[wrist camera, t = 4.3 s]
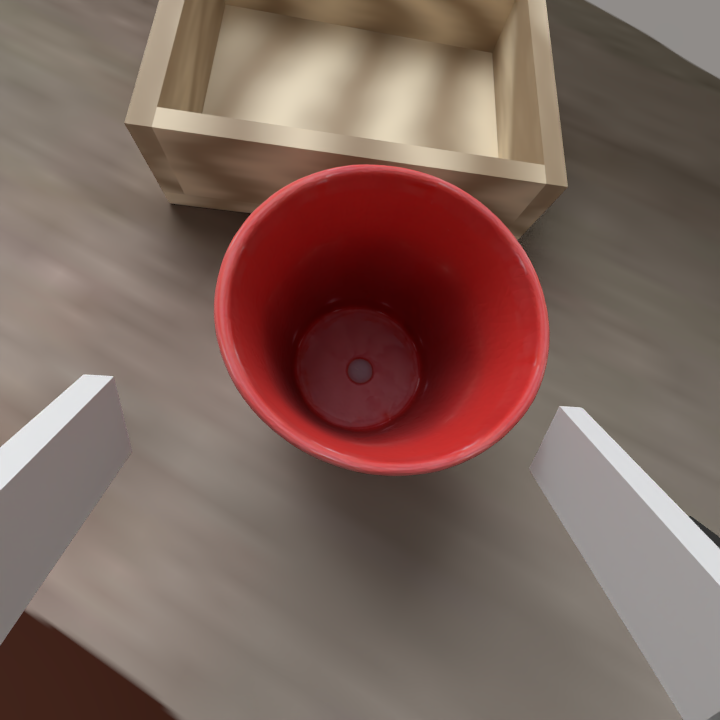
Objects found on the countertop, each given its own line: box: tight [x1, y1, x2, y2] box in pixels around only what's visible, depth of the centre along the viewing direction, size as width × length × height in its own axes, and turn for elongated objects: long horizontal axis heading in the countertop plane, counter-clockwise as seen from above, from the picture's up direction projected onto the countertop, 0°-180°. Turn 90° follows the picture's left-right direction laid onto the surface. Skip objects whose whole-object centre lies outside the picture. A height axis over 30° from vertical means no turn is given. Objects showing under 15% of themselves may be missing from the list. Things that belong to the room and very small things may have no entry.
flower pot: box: [214, 164, 550, 476], centre depth 16 cm, size 11×11×10 cm
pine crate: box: [124, 0, 568, 240], centre depth 23 cm, size 22×17×6 cm
